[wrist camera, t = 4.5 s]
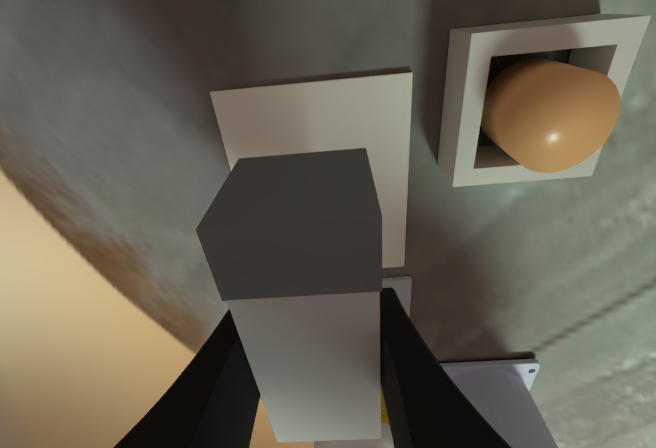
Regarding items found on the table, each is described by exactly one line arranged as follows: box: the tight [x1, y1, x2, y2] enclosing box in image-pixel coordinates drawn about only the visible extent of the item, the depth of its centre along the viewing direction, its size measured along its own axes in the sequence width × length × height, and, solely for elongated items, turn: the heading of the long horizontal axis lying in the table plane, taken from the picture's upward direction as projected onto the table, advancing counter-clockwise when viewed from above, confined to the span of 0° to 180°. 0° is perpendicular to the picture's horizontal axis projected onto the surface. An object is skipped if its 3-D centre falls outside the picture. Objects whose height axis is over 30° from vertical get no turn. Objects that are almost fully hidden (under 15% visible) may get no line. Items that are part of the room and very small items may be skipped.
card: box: [382, 276, 412, 318], centre depth 22 cm, size 4×6×1 cm, turn 95°
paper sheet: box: [210, 72, 413, 268], centre depth 18 cm, size 11×9×1 cm
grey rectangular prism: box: [196, 148, 382, 442], centre depth 11 cm, size 9×4×4 cm, turn 5°
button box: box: [437, 14, 651, 187], centre depth 14 cm, size 6×6×2 cm
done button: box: [480, 58, 620, 173], centre depth 13 cm, size 4×4×3 cm
